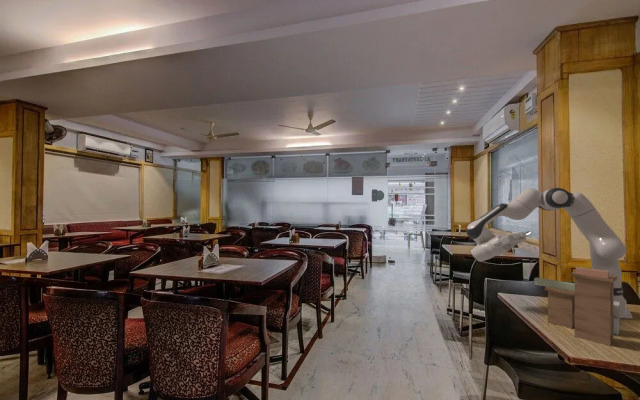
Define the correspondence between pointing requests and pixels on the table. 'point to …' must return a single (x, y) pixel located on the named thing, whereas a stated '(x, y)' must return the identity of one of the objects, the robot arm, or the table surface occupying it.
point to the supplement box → (616, 317)
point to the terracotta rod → (592, 272)
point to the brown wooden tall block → (594, 308)
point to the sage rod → (554, 284)
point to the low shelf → (561, 307)
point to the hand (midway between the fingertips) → (527, 232)
